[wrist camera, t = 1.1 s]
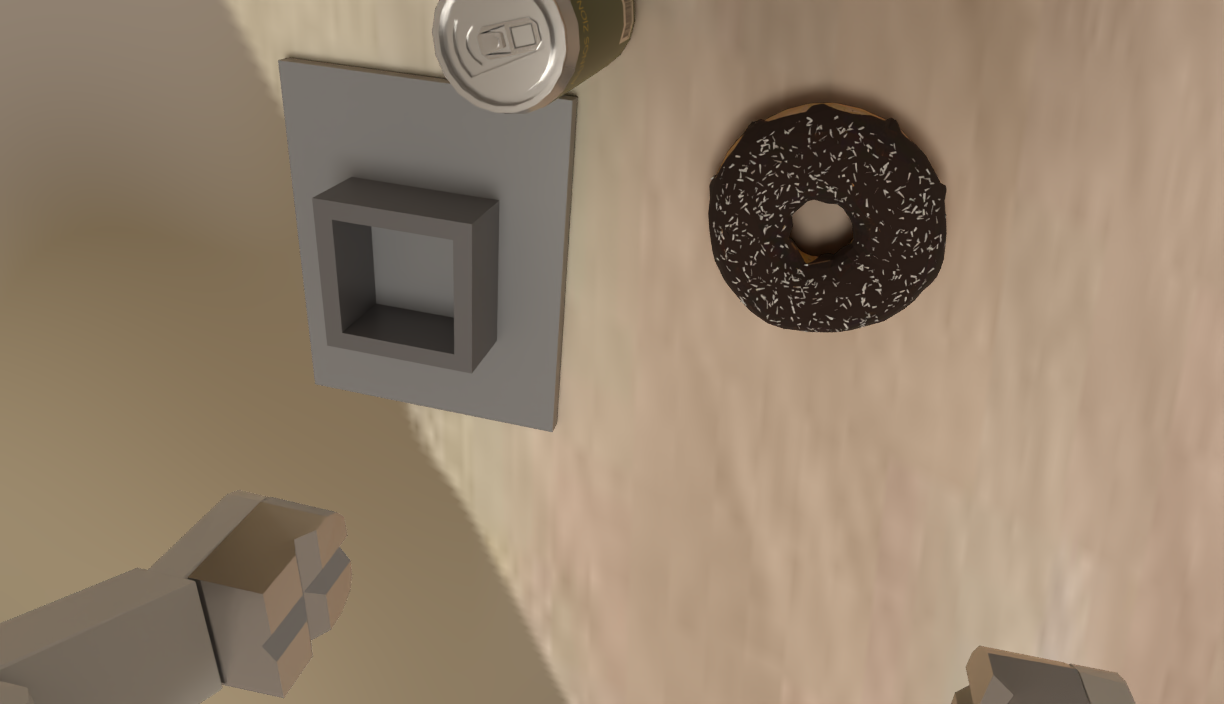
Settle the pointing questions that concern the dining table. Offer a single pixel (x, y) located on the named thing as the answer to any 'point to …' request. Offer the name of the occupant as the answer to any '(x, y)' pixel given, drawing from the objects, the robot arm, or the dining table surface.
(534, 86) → the beer can
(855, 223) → the donut
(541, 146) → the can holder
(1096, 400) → the dining table surface
